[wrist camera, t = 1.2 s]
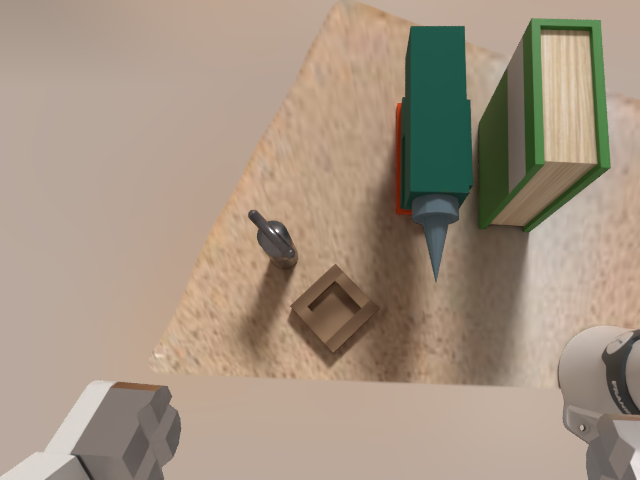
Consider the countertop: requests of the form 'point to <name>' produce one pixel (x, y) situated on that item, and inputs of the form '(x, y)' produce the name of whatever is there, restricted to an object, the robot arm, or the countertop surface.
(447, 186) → the power tool
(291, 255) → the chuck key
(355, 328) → the brown square frame
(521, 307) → the countertop surface
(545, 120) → the hardback book
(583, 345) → the robot arm
